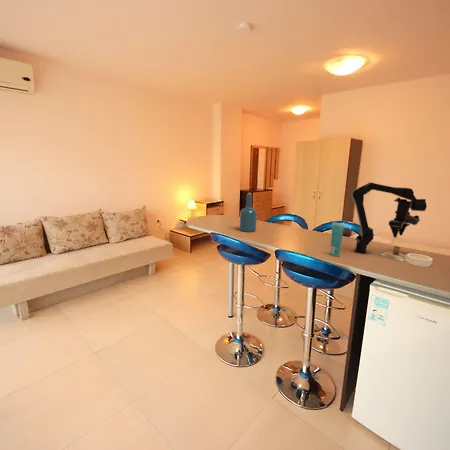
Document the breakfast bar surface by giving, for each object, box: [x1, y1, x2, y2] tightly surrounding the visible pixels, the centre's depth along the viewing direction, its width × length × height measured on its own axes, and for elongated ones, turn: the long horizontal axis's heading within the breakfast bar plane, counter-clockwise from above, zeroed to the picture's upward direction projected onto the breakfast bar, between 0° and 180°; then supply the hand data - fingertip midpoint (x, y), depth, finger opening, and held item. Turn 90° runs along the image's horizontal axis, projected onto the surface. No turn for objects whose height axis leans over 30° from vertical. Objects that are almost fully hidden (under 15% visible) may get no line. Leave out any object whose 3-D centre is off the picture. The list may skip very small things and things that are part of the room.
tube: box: [329, 221, 346, 257], centre depth 152 cm, size 7×5×19 cm, turn 47°
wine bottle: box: [239, 192, 258, 233], centre depth 205 cm, size 14×13×30 cm
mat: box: [380, 252, 405, 262], centre depth 154 cm, size 12×12×1 cm
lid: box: [383, 245, 406, 260], centre depth 153 cm, size 12×12×5 cm
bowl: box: [404, 252, 434, 268], centre depth 143 cm, size 11×11×4 cm
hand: (397, 236), depth 152 cm, fingers open, 9 cm apart
